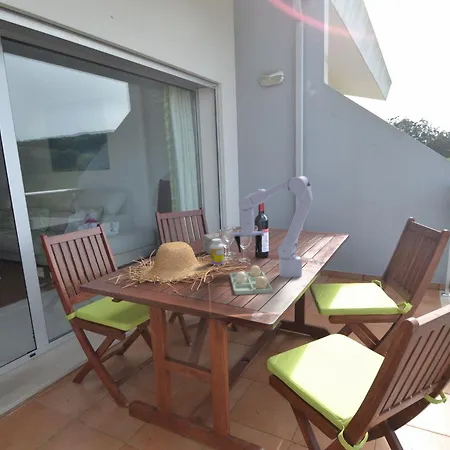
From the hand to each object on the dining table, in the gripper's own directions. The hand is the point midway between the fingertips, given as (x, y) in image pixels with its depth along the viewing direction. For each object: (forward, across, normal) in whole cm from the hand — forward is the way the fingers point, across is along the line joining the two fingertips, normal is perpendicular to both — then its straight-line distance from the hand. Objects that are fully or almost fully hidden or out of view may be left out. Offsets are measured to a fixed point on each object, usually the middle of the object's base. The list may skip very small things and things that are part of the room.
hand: (248, 251), depth 152 cm
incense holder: (+10, +15, -38) cm, 42 cm away
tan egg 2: (+9, -2, +26) cm, 27 cm away
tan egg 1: (+9, -2, +12) cm, 14 cm away
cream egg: (+9, +6, +18) cm, 21 cm away
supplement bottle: (+10, +14, -14) cm, 22 cm away
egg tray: (+9, +2, +18) cm, 21 cm away
